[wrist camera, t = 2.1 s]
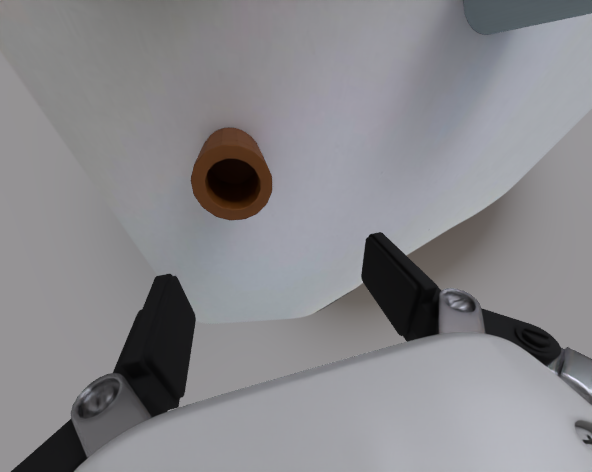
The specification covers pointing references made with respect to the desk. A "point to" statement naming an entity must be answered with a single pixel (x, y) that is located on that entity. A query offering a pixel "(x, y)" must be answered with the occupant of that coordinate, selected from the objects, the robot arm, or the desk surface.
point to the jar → (231, 175)
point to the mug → (520, 13)
